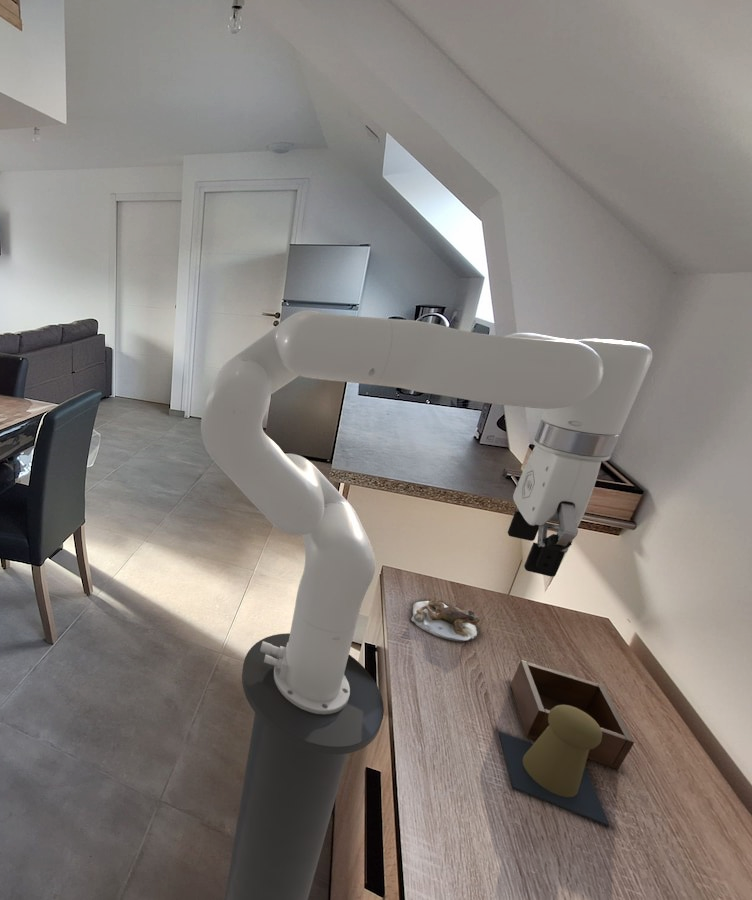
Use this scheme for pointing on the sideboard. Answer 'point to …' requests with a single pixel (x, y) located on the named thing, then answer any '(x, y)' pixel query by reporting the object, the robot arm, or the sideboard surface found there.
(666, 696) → the sideboard surface
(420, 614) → the frog figurine
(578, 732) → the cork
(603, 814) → the mat
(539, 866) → the sideboard surface
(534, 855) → the sideboard surface
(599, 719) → the open wooden box
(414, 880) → the sideboard surface
